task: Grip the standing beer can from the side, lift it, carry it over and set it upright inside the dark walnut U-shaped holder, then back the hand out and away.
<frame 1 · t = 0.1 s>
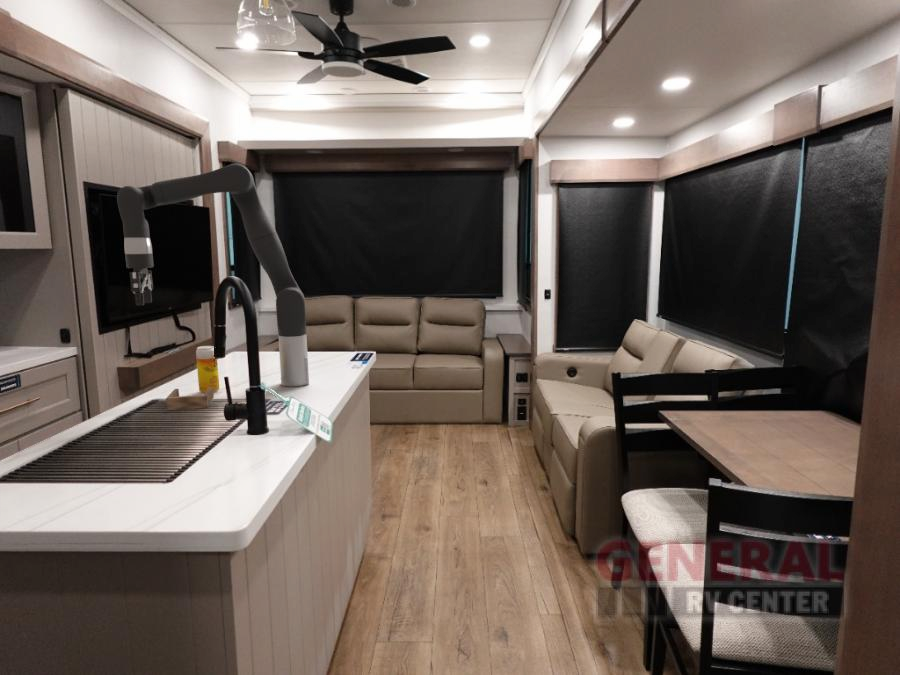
hand: (144, 304, 174), 29 cm above the worktop, tool pointing down, fingers open, 8 cm apart
beer can: (209, 392, 180), on the worktop
can holder: (191, 403, 167), on the worktop
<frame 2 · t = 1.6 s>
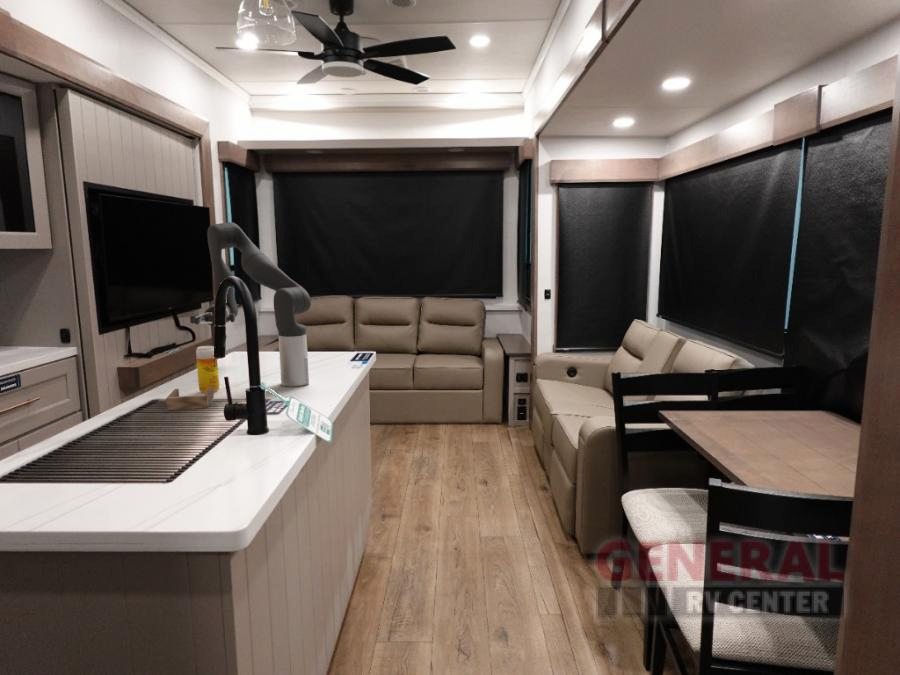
hand: (209, 321, 186), 22 cm above the worktop, tool horizontal, fingers open, 8 cm apart
nothing on the worktop moved.
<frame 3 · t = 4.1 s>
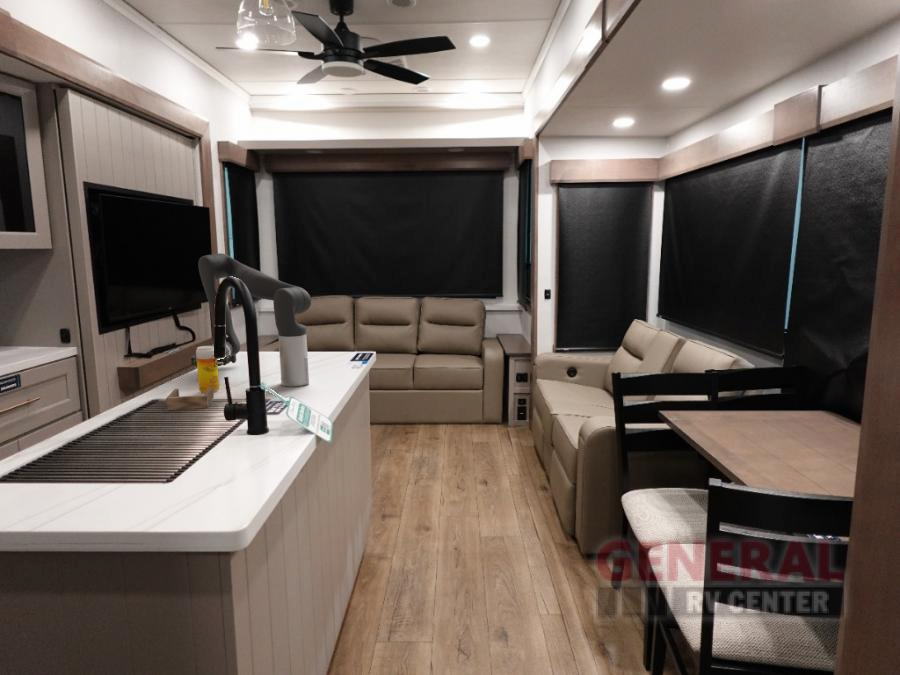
hand: (210, 363, 184), 9 cm above the worktop, tool horizontal, fingers open, 8 cm apart
nothing on the worktop moved.
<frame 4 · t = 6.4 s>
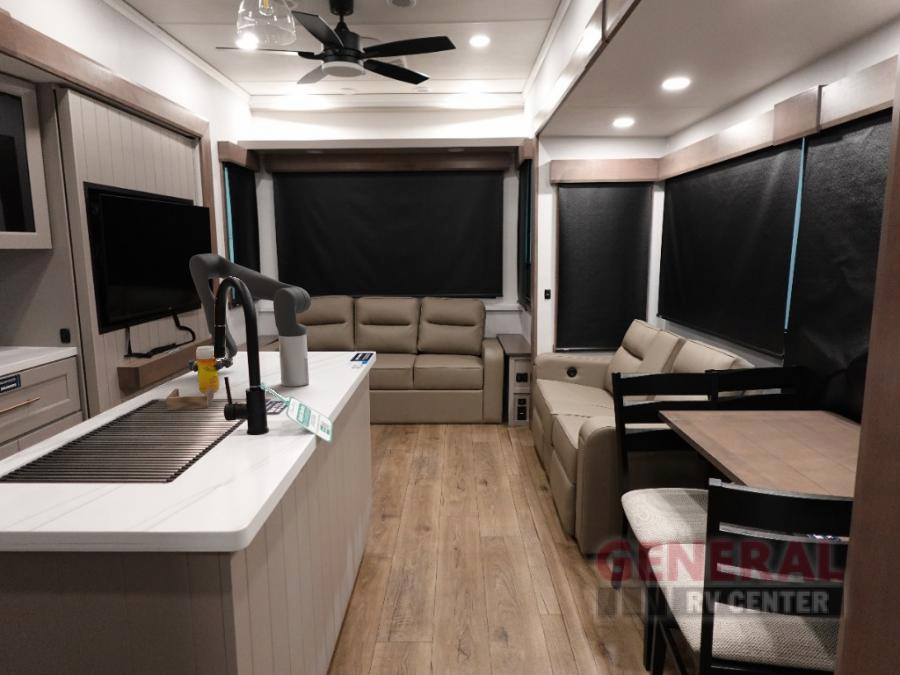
hand: (206, 368, 176), 9 cm above the worktop, tool horizontal, fingers closed on beer can, 6 cm apart
beer can: (209, 392, 180), on the worktop, touching gripper
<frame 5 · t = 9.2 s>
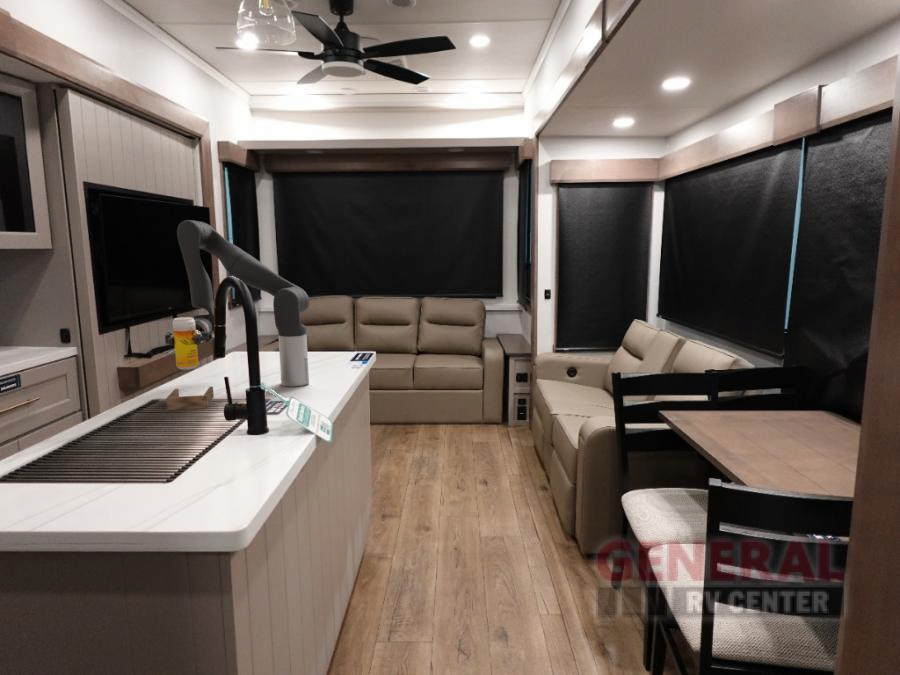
hand: (183, 341, 161), 20 cm above the worktop, tool horizontal, fingers closed on beer can, 6 cm apart
beer can: (187, 368, 165), point 11 cm above the worktop, touching gripper
when the fingers open (10 cm above the worktop, at t = 11.9 s): beer can drops 1 cm, resting on can holder.
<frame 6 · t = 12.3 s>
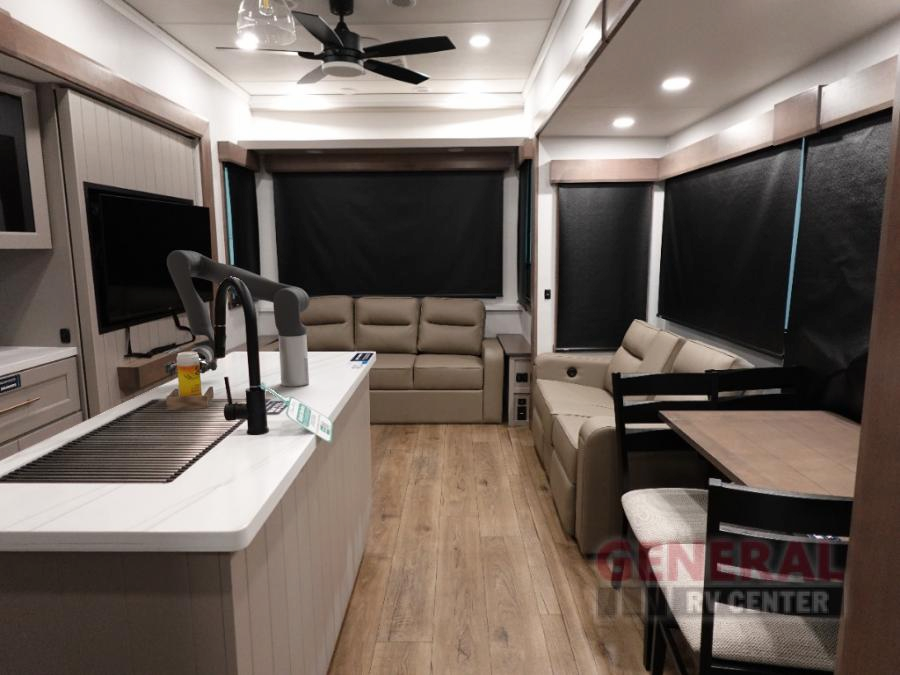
hand: (187, 371, 163), 11 cm above the worktop, tool horizontal, fingers open, 8 cm apart
beer can: (191, 402, 167), resting on can holder
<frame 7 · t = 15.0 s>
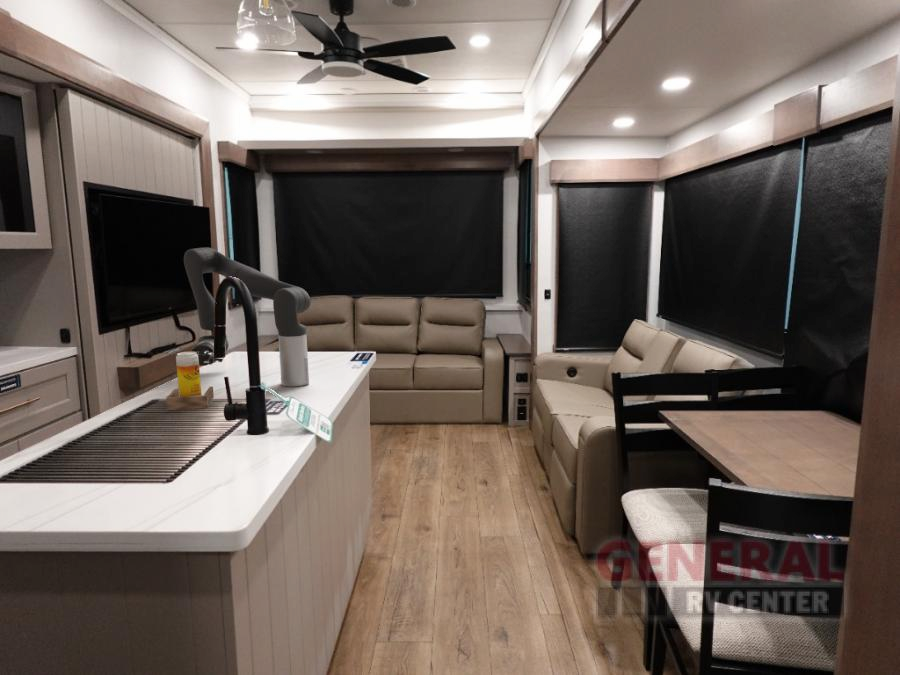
hand: (195, 362, 175), 11 cm above the worktop, tool horizontal, fingers open, 8 cm apart
nothing on the worktop moved.
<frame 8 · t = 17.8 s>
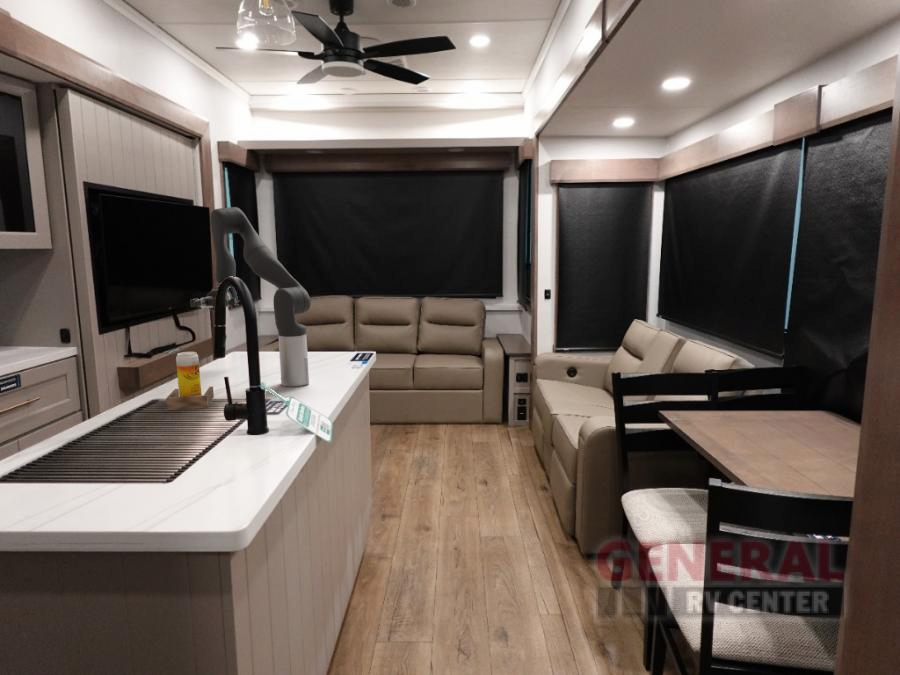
hand: (210, 304, 183), 28 cm above the worktop, tool horizontal, fingers open, 8 cm apart
nothing on the worktop moved.
at the end: beer can 0.2 cm off-centre on the can holder, point 0.4 cm above the can holder's base; beer can tilted 0°; the gripper is holding nothing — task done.
